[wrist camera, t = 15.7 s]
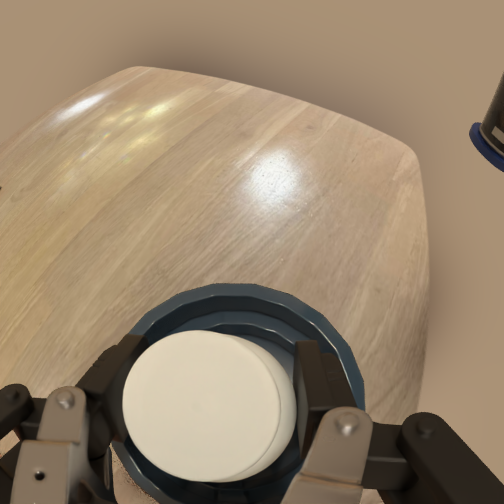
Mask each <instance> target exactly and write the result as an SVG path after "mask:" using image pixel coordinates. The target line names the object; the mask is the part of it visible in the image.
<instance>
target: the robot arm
mask: <svg viewBox="0 0 504 504" xmlns="http://www.w3.org/2000/svg"><path fill="white" fill-rule="evenodd" d="M478 132H479V134H480V136H481V138H482V139H483V141H484V142H485V143H486V144H487V145H488V147H489V148H490V149H491V150H493V151H494V152H495V153H496V154H497V155H498V156H500V157H501V158H502V159H504V72H503V75H502V77H501V80H500V83H499V85H498V88H497V90H496V92H495V95H494V97H493V100H492V102H491V104H490V107H489V109H488V111H487V113H486V115H485V117H484V120H483V122H482V123H481V125H480V127H479V129H478ZM149 347H150V346H149V341H148V338H147V337H146V336H145V335H134V334H126V335H125V336H124V337H123V339H122V340H121V341H120V342H119V344H118V345H113V346H112V347H110V348H108V349H107V350H105V351H104V352H103V353H102V354H101V355H100V357H99V358H98V360H96V361H95V363H94V364H93V366H92V367H90V368H89V370H88V371H87V372H86V373H85V375H84V376H83V377H82V378H81V379H80V381H79V382H78V383H77V384H76V385H75V387H74V386H65V387H61V388H58V389H56V390H54V391H53V392H52V393H51V394H50V395H49V396H48V398H47V399H46V398H32V397H31V395H30V393H29V391H28V389H27V387H26V386H24V385H22V384H11V385H8V386H5V387H4V388H2V389H1V390H0V440H1V439H2V438H3V437H4V436H6V435H7V434H8V433H9V432H10V431H11V430H14V432H15V434H16V435H17V437H18V438H19V440H20V441H19V442H18V443H17V444H16V445H15V446H14V447H13V448H12V449H11V450H9V451H8V452H7V453H6V454H5V455H4V456H3V457H2V458H1V459H0V504H118V503H117V501H116V498H115V495H114V488H113V473H112V452H111V449H110V447H109V445H110V443H111V441H116V442H120V443H124V442H125V440H126V438H127V436H128V434H129V432H128V429H127V427H126V424H125V421H124V415H123V404H122V402H123V390H124V386H125V382H126V379H127V377H128V374H129V372H130V370H131V368H132V367H133V365H134V363H135V362H136V361H137V359H138V358H139V357H140V356H141V355H142V354H143V352H144V351H145V350H146V349H148V348H149ZM293 389H294V392H295V396H296V403H297V418H296V421H297V430H298V439H299V448H300V457H301V459H305V461H304V464H303V466H302V468H301V470H300V472H299V473H297V474H296V475H295V476H294V478H293V480H292V482H291V484H290V486H289V488H288V490H287V492H286V494H285V496H284V498H283V500H282V502H281V504H359V502H360V499H361V495H362V490H363V488H364V489H377V491H378V493H379V495H380V496H381V498H382V500H383V502H384V503H385V504H504V485H503V484H502V483H501V482H500V481H499V479H498V478H497V477H496V476H495V475H494V474H493V473H492V472H491V471H490V469H489V468H488V467H487V466H486V465H485V464H484V463H483V462H482V461H481V460H480V459H479V457H478V456H477V455H476V454H475V453H474V452H473V451H472V450H471V449H470V448H469V447H468V446H467V444H466V443H465V442H463V440H462V439H461V438H460V437H459V436H458V435H457V434H456V433H455V432H454V431H453V430H452V429H451V427H450V426H449V425H448V424H447V423H446V422H445V421H444V420H443V419H442V418H441V417H439V416H437V415H435V414H432V413H428V412H420V413H415V414H412V415H410V416H409V417H407V418H406V419H405V421H404V422H403V424H402V425H389V424H380V423H376V422H373V421H372V419H371V417H370V416H369V415H368V414H367V413H366V412H364V411H363V410H361V409H358V407H357V404H356V401H355V399H354V396H353V393H352V391H351V388H350V385H349V383H348V380H347V377H346V375H345V372H344V370H343V367H342V364H341V362H340V360H339V359H338V358H336V357H335V356H334V355H333V354H332V353H321V352H320V349H319V346H318V343H317V340H304V341H296V342H295V352H294V366H293Z"/></svg>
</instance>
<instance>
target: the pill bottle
mask: <svg viewBox="0 0 504 504" xmlns="http://www.w3.org/2000/svg"><path fill="white" fill-rule="evenodd" d="M122 404H123V415H124V421H125V424H126V427H127V429H128V432H129V435H130V437H131V438H132V440H133V442H134V444H135V445H136V447H137V448H138V449H139V450H140V452H141V453H142V454H143V455H144V456H145V457H146V458H147V459H148V460H149V461H150V462H152V463H153V464H154V465H155V466H157V467H158V468H160V469H161V470H163V471H165V472H167V473H169V474H171V475H173V476H176V477H179V478H182V479H186V480H190V481H202V482H207V481H209V482H231V481H237V480H241V479H245V478H248V477H250V476H253V475H255V474H257V473H259V472H260V471H262V470H264V469H265V468H267V467H268V466H269V465H271V464H272V463H273V462H274V461H275V460H276V459H277V458H278V457H279V456H280V455H281V453H282V452H283V451H284V449H285V448H286V446H287V445H288V443H289V441H290V439H291V437H292V434H293V431H294V428H295V423H296V418H297V403H296V396H295V392H294V389H293V386H292V383H291V381H290V379H289V377H288V375H287V373H286V371H285V370H284V368H283V367H282V366H281V364H280V363H279V362H278V361H277V360H276V359H275V358H274V357H273V356H272V355H271V354H270V353H269V352H267V351H266V350H265V349H263V348H262V347H260V346H258V345H257V344H255V343H253V342H250V341H248V340H245V339H243V338H240V337H236V336H232V335H226V334H220V333H216V332H211V331H203V330H195V331H185V332H180V333H176V334H172V335H170V336H167V337H165V338H163V339H161V340H159V341H158V342H156V343H154V344H153V345H151V346H150V347H149V348H148V349H146V350H145V351H144V352H143V354H142V355H141V356H140V357H139V358H138V359H137V361H136V362H135V363H134V365H133V367H132V368H131V370H130V372H129V374H128V377H127V379H126V382H125V386H124V390H123V402H122Z"/></svg>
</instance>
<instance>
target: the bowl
mask: <svg viewBox="0 0 504 504" xmlns="http://www.w3.org/2000/svg"><path fill="white" fill-rule="evenodd" d="M195 330H203V331H211V332H216V333H220V334H226V335H232V336H236V337H240V338H243V339H245V340H248V341H250V342H253V343H255V344H257V345H258V346H260V347H262V348H263V349H265V350H266V351H267V352H269V353H270V354H271V355H272V356H273V357H274V358H275V359H276V360H277V361H278V362H279V363H280V364H281V366H282V367H283V368H284V370H285V371H286V373H287V375H288V377H289V379H290V381H291V383H292V386H293V366H294V352H295V342H296V341H304V340H317V343H318V346H319V349H320V352H321V353H332V354H333V355H334V356H335V357H336V358H338V359H339V360H340V362H341V364H342V367H343V370H344V372H345V375H346V377H347V380H348V383H349V385H350V388H351V391H352V393H353V396H354V399H355V401H356V404H357V407H358V409H361V410H363V411H364V412H365V393H364V383H363V382H364V381H363V378H362V376H361V373H360V371H359V368H358V365H357V363H356V360H355V358H354V355H353V353H352V351H351V348H350V346H349V345H348V344H347V343H346V341H345V340H344V339H343V338H342V337H341V335H340V334H339V333H338V332H337V331H336V329H335V328H334V327H333V326H332V325H331V324H330V322H329V321H328V320H327V319H326V318H325V317H324V315H322V314H321V313H319V312H318V311H316V310H315V309H313V308H311V307H310V306H308V305H307V304H305V303H304V302H302V301H301V300H299V299H297V298H296V297H294V296H293V295H290V294H288V293H284V292H281V291H277V290H274V289H271V288H267V287H264V286H260V285H257V284H228V283H216V284H210V285H207V286H203V287H199V288H196V289H192V290H188V291H185V292H181V293H179V294H176V295H175V296H173V297H171V298H170V299H168V300H166V301H165V302H163V303H162V304H160V305H158V306H157V307H155V308H153V309H152V310H150V311H149V312H147V313H146V314H145V315H144V316H143V317H142V318H141V319H140V320H139V322H138V323H137V324H136V325H135V326H134V327H133V328H132V329H131V331H130V332H129V333H128V334H134V335H145V336H146V337H147V338H148V341H149V346H151V345H153V344H154V343H156V342H158V341H159V340H161V339H163V338H165V337H167V336H170V335H172V334H176V333H180V332H185V331H195ZM111 444H112V447H114V448H113V449H114V451H115V452H116V454H117V456H118V457H119V459H120V461H121V462H122V464H123V466H124V467H125V469H126V470H127V472H128V473H129V475H130V477H131V478H132V480H134V482H135V483H136V484H137V485H138V486H139V487H141V488H142V489H143V490H144V491H145V492H146V493H148V494H149V495H150V496H151V497H152V498H154V499H155V500H156V501H157V502H159V503H160V504H281V502H282V500H283V498H284V496H285V494H286V492H287V490H288V488H289V486H290V484H291V482H292V480H293V478H294V476H295V475H296V474H297V473H299V472H300V470H301V468H302V466H303V464H304V461H305V459H301V457H300V448H299V439H298V430H297V421H296V423H295V428H294V431H293V434H292V437H291V439H290V441H289V443H288V445H287V446H286V448H285V449H284V451H283V452H282V453H281V455H280V456H279V457H278V458H277V459H276V460H275V461H274V462H273V463H272V464H271V465H269V466H268V467H267V468H265V469H264V470H262V471H260V472H259V473H257V474H255V475H253V476H250V477H248V478H245V479H241V480H237V481H231V482H209V481H207V482H202V481H190V480H186V479H182V478H179V477H176V476H173V475H171V474H169V473H167V472H165V471H163V470H161V469H160V468H158V467H157V466H155V465H154V464H153V463H152V462H150V461H149V460H148V459H147V458H146V457H145V456H144V455H143V454H142V453H141V452H140V450H139V449H138V448H137V447H136V445H135V444H134V442H133V440H132V438H131V437H130V435H129V434H128V436H127V438H126V440H125V442H124V443H120V442H116V441H111Z"/></svg>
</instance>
